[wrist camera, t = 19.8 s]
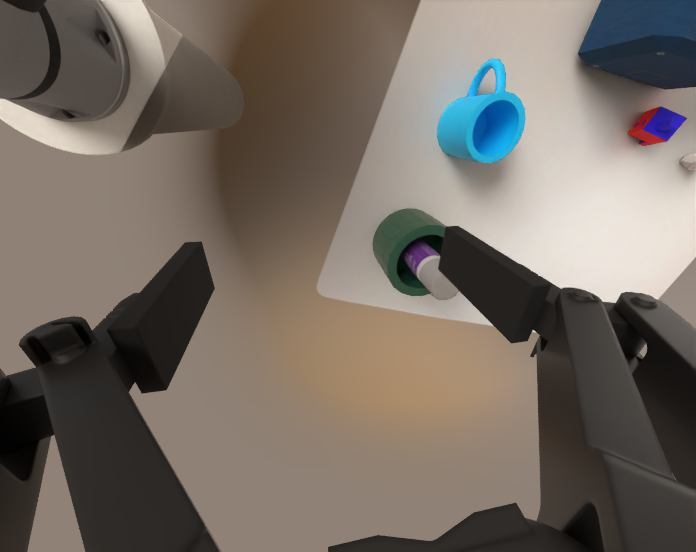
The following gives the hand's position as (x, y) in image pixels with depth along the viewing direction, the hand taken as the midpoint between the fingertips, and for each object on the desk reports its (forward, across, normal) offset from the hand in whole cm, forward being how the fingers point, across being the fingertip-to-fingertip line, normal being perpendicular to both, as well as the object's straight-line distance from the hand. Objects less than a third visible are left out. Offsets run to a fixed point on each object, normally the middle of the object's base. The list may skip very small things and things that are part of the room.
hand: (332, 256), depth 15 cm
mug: (+31, +24, +8) cm, 40 cm away
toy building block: (+31, +58, +6) cm, 66 cm away
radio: (+31, +50, +17) cm, 61 cm away
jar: (+31, +17, -13) cm, 37 cm away
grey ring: (+31, +72, 0) cm, 78 cm away
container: (+30, +17, -13) cm, 37 cm away
